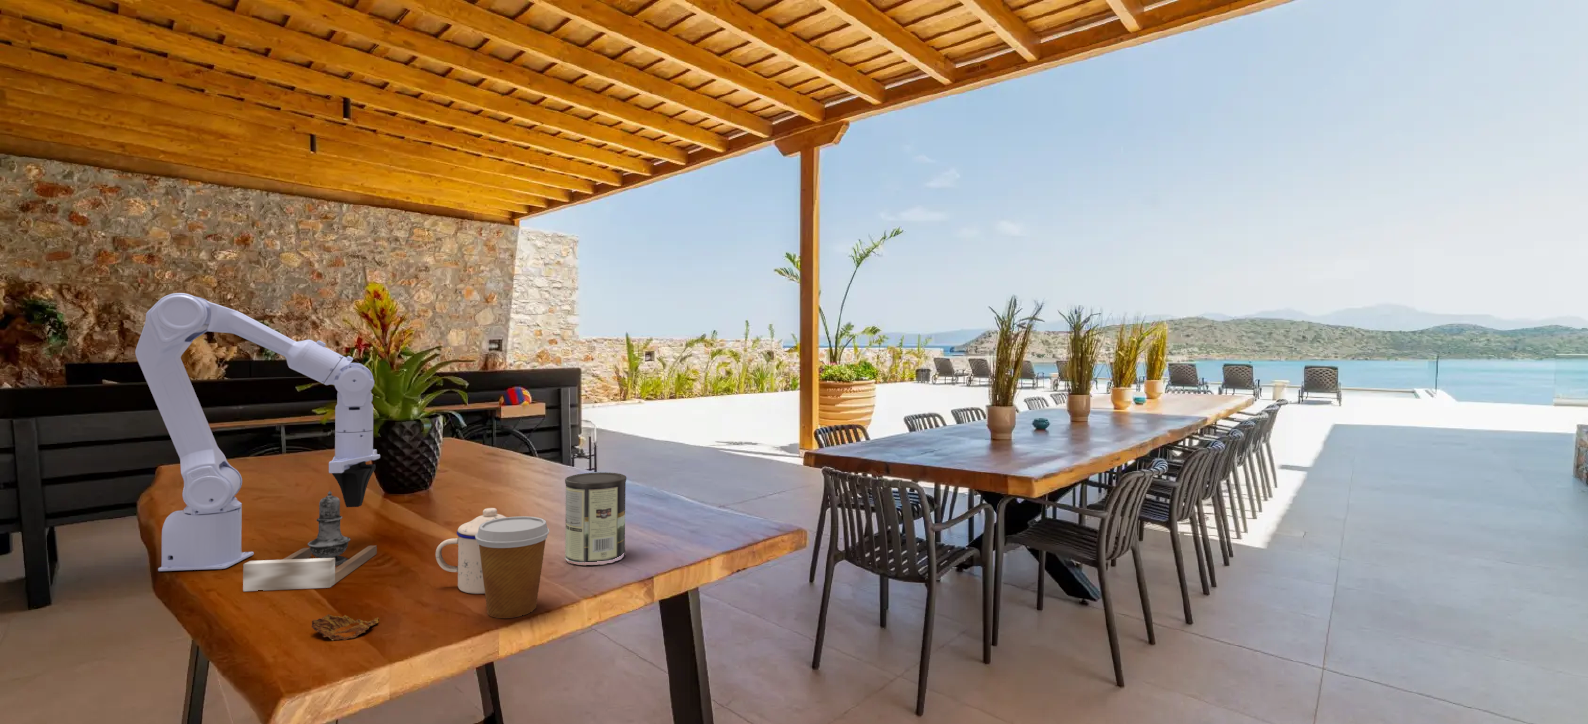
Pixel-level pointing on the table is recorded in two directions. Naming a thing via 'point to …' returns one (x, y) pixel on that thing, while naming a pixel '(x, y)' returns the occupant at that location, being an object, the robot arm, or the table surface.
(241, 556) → the robot arm
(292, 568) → the guide channel
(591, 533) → the coffee can
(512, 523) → the disposable coffee cup
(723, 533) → the table surface
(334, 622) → the leaf
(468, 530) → the teacup with lid
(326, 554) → the grey stone finial
